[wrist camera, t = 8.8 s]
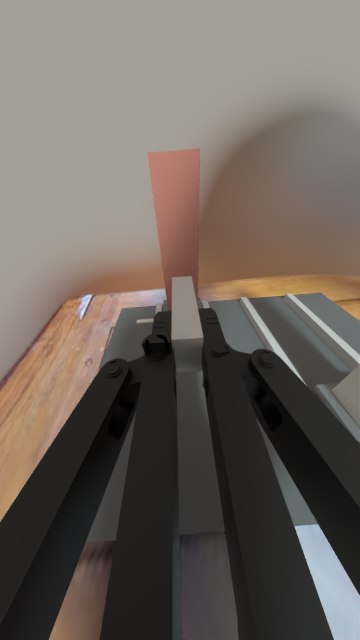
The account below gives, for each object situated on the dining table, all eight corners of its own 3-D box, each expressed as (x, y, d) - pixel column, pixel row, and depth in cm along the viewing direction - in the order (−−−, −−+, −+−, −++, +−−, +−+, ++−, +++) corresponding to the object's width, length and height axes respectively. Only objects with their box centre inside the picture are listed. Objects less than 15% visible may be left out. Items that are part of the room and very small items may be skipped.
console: (316, 301, 26) (324, 286, 24) (564, 501, 9) (640, 499, 8) (124, 316, 25) (120, 303, 24) (50, 543, 9) (19, 549, 8)
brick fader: (199, 304, 23) (202, 154, 14) (204, 323, 20) (212, 146, 11) (164, 307, 23) (142, 159, 14) (164, 326, 20) (135, 152, 11)
